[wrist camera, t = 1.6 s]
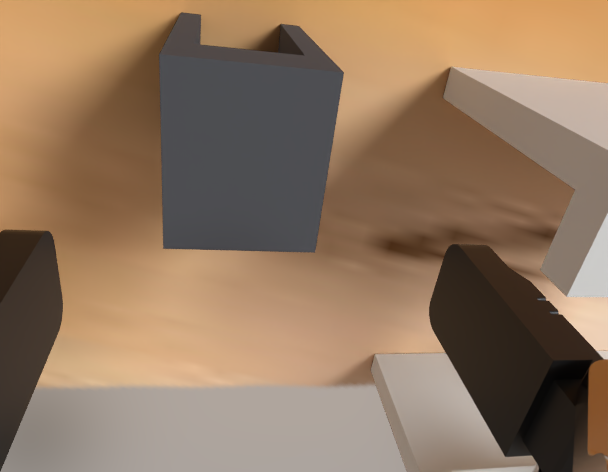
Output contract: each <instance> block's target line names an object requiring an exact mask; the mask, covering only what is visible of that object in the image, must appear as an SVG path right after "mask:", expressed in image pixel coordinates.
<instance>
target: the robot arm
mask: <svg viewBox="0 0 608 472" xmlns="http://www.w3.org/2000/svg"><path fill="white" fill-rule="evenodd" d="M62 312H63V300H62V292H61V285H60V278H59V272H58V265H57V258H56V251H55V244H54V240H53V236H52V234H51V233H50V232H49V231H31V230H3V231H1V232H0V471H1V468H2V466H3V464H4V461H5V459H6V457H7V454H8V452H9V449H10V447H11V444H12V442H13V440H14V437H15V435H16V433H17V430H18V428H19V426H20V423H21V421H22V418H23V416H24V414H25V411H26V409H27V406H28V404H29V402H30V399H31V397H32V394H33V392H34V390H35V387H36V385H37V382H38V380H39V378H40V375H41V373H42V370H43V368H44V366H45V363H46V361H47V358H48V356H49V354H50V351H51V349H52V346H53V344H54V342H55V339H56V337H57V334H58V332H59V329H60V325H61V320H62ZM429 316H430V323H431V326H432V329H433V331H434V333H435V335H436V336H437V338H438V340H439V342H440V343H441V345H442V347H443V349H444V350H445V352H446V354H447V356H448V357H449V359H450V361H451V363H452V364H453V366H454V368H455V370H456V371H457V373H458V375H459V377H460V378H461V380H462V382H463V384H464V386H465V387H466V389H467V391H468V393H469V394H470V396H471V398H472V400H473V401H474V403H475V405H476V407H477V408H478V410H479V412H480V414H481V415H482V417H483V419H484V421H485V422H486V424H487V426H488V428H489V429H490V431H491V433H492V435H493V436H494V438H495V440H496V442H497V444H498V445H499V447H500V449H501V451H502V452H503V454H504V456H505V457H516V456H533V458H534V460H535V461H536V463H537V464H536V466H535V468H534V470H533V471H532V472H608V359H603V358H602V357H601V356H600V354H599V353H598V352H597V351H596V350H595V349H594V348H593V347H592V346H591V345H590V344H589V343H588V342H587V341H586V340H585V339H584V338H583V336H582V335H581V334H580V333H579V332H578V331H577V330H576V329H575V328H574V327H573V326H572V325H571V324H570V323H569V322H568V321H567V320H566V319H565V317H564V316H563V315H559V314H558V310H557V309H556V308H555V307H554V306H553V305H552V304H551V303H550V302H549V301H546V297H545V296H544V295H543V294H542V293H541V292H540V291H539V290H538V289H537V288H536V287H535V286H534V285H533V284H532V283H531V282H530V281H529V280H527V279H526V278H524V277H522V276H521V275H519V274H518V273H516V272H515V271H513V270H512V269H510V268H509V267H508V266H507V265H506V264H505V263H504V262H503V261H502V260H501V259H500V258H499V257H498V255H497V254H496V253H495V252H494V251H493V250H492V249H491V248H490V247H489V246H486V245H463V244H453V245H451V246H450V247H449V248H448V249H447V251H446V253H445V256H444V259H443V262H442V266H441V269H440V272H439V275H438V278H437V282H436V285H435V288H434V291H433V295H432V298H431V301H430V307H429Z"/></svg>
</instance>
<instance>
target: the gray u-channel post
mask: <svg viewBox="0 0 608 472" xmlns="http://www.w3.org/2000/svg"><path fill="white" fill-rule="evenodd" d="M200 31H201V15H198V14H190V13H181V14H180V16H179V18H178V20H177V22H176V23H175V25H174V27H173V29H172V31H171V33H170V35H169V37H168V39H167V40H166V42H165V44H164V46H163V48H162V50H161V52H160V54H159V64H160V111H161V158H162V205H163V249H200V250H239V251H278V252H315V249H316V243H317V236H318V230H319V224H320V218H321V211H322V205H323V199H324V193H325V186H326V180H327V174H328V168H329V161H330V155H331V149H332V143H333V137H334V130H335V124H336V118H337V112H338V105H339V99H340V93H341V87H342V80H343V74H344V72H343V71H342V70H341V69H340V68H339V67H338V66H337V65H336V64H335V63H334V62H333V61H332V60H331V59H330V58H329V57H328V56H327V55H326V54H325V53H324V52H323V51H322V50H321V48H320V47H319V46H318V45H317V44H316V43H315V42H314V41H313V40H312V39H311V38H310V37H309V36H308V35H307V34H306V33H305V32H304V31H303V30H302V29H301V28H300V27H299V26H293V25H285V24H281V27H280V37H279V48H278V53H275V52H266V51H256V50H246V49H237V48H227V47H218V46H208V45H200Z"/></svg>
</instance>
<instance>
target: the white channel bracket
mask: <svg viewBox="0 0 608 472" xmlns="http://www.w3.org/2000/svg"><path fill="white" fill-rule="evenodd" d="M443 99H445V100H446V101H448V102H449V103H451V104H452V105H453V106H455V107H456V108H458V109H459V110H461V111H462V112H464V113H465V114H466V115H468V116H469V117H471V118H472V119H474V120H475V121H477V122H478V123H479V124H481V125H482V126H484V127H485V128H487V129H488V130H490V131H491V132H492V133H494V134H495V135H497V136H498V137H500V138H501V139H503V140H504V141H506V142H507V143H508V144H510V145H511V146H513V147H514V148H516V149H517V150H519V151H520V152H521V153H523V154H524V155H526V156H527V157H529V158H530V159H532V160H533V161H534V162H536V163H537V164H539V165H540V166H542V167H543V168H545V169H546V170H547V171H549V172H550V173H552V174H553V175H555V176H556V177H558V178H559V179H560V180H562V181H563V182H565V183H566V184H568V185H569V186H571V187H572V188H573V189H575V191H574V194H573V196H572V198H571V200H570V203H569V205H568V207H567V209H566V212H565V214H564V216H563V219H562V221H561V223H560V225H559V228H558V230H557V232H556V234H555V237H554V239H553V241H552V244H551V246H550V248H549V250H548V253H547V255H546V257H545V259H544V262H543V264H542V266H541V269H540V270H541V271H542V272H543V273H544V274H545V275H546V276H547V277H548V278H549V279H550V280H551V281H552V282H553V283H554V285H555V286H556V287H557V288H558V289H559V290H560V291H561V292H562V293H563V294H564V295H565V296H566V297H608V83H600V82H591V81H581V80H572V79H563V78H553V77H544V76H534V75H525V74H515V73H506V72H497V71H487V70H478V69H468V68H459V67H451V69H450V73H449V77H448V80H447V84H446V88H445V92H444V96H443ZM597 352H598V353H599V354H600V356H601V357H602V358H603V359H608V351H597ZM371 373H372V376H373V378H374V381H375V384H376V387H377V390H378V392H379V395H380V398H381V401H382V404H383V406H384V409H385V412H386V415H387V418H388V420H389V423H390V426H391V429H392V432H393V435H394V437H395V440H396V443H397V445H398V449H399V451H400V454H401V457H402V460H403V462H404V465H405V468H406V471H407V472H532V471H533V470H534V468H535V466H536V464H537V463H536V461H535V460H534V458H533V456H516V457H505V456H504V454H503V452H502V451H501V449H500V447H499V445H498V444H497V442H496V440H495V438H494V436H493V435H492V433H491V431H490V429H489V428H488V426H487V424H486V422H485V421H484V419H483V417H482V415H481V414H480V412H479V410H478V408H477V407H476V405H475V403H474V401H473V400H472V398H471V396H470V394H469V393H468V391H467V389H466V387H465V386H464V384H463V382H462V380H461V378H460V377H459V375H458V373H457V371H456V370H455V368H454V366H453V364H452V363H451V361H450V359H449V357H448V356H447V354H446V353H416V354H375V356H374V360H373V364H372V367H371Z"/></svg>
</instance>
